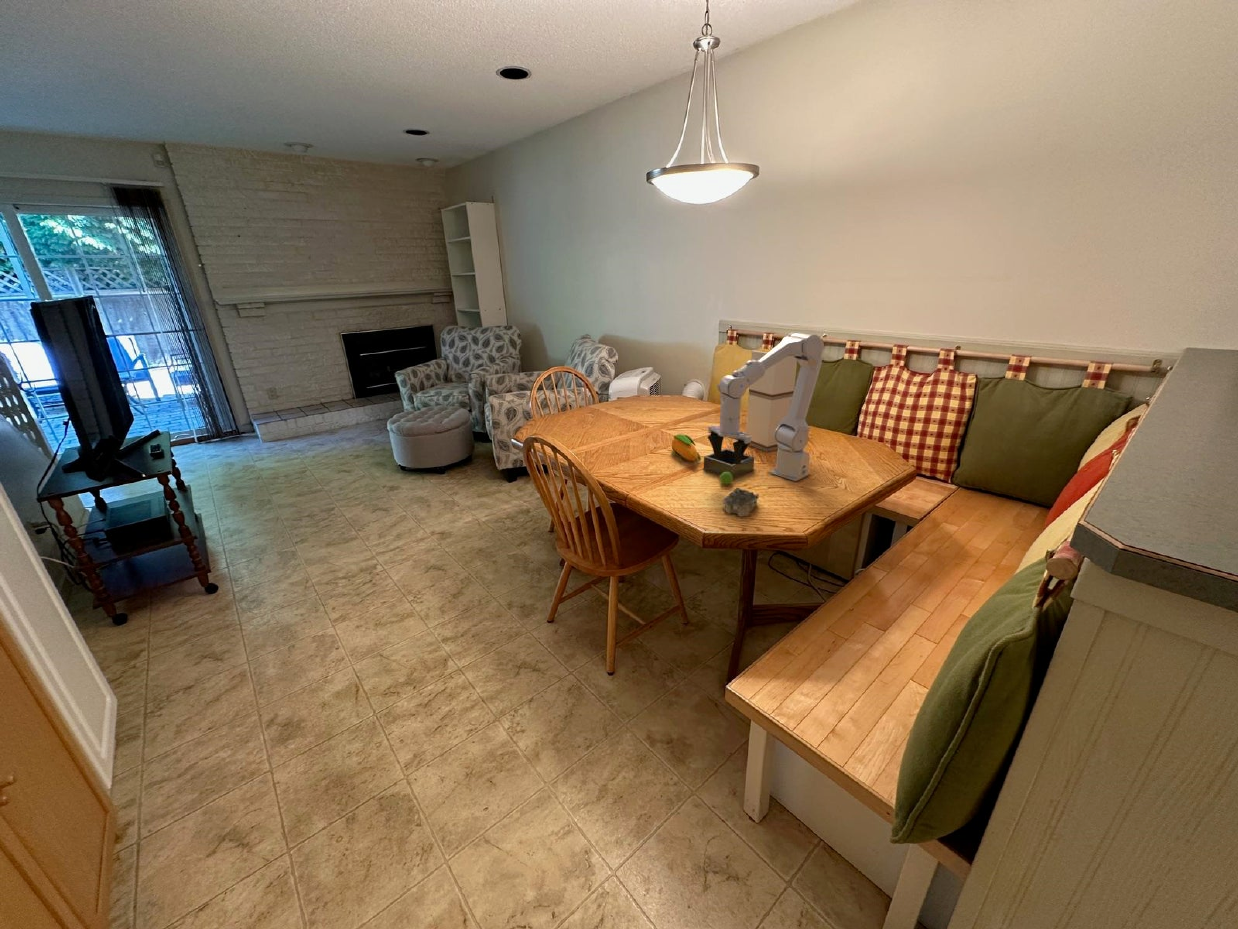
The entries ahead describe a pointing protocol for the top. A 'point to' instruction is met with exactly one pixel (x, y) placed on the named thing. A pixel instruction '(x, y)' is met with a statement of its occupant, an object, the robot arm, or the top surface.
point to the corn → (685, 448)
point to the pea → (726, 478)
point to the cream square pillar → (769, 401)
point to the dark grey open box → (728, 463)
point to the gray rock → (740, 502)
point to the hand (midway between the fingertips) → (727, 460)
